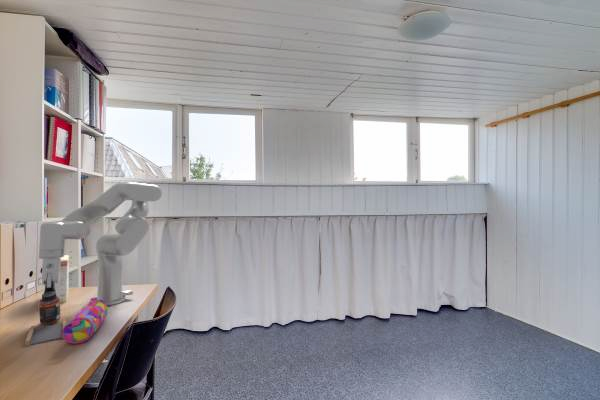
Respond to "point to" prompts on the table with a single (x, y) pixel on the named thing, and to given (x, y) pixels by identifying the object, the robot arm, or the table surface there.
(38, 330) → the cradle mat
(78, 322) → the pencil case
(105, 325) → the table surface
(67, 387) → the table surface
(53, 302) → the supplement bottle
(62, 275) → the coffeecake box
